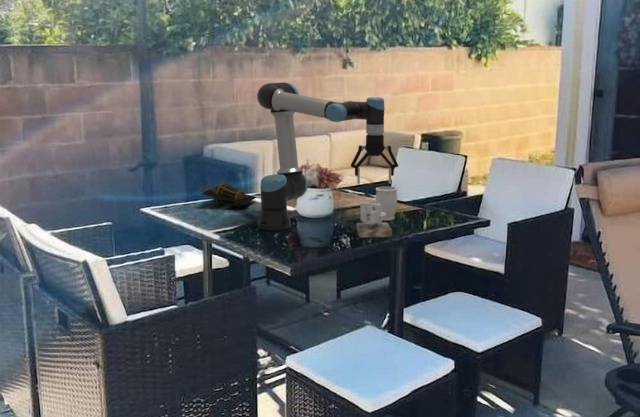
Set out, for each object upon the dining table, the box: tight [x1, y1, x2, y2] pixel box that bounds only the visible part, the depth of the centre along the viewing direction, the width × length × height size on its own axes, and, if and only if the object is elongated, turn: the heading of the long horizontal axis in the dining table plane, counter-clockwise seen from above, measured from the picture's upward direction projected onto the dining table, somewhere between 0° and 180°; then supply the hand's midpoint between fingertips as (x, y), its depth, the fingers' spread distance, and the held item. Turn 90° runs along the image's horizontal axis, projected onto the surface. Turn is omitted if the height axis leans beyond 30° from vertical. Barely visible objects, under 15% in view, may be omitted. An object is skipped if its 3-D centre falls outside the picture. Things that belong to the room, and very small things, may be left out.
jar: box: [374, 186, 398, 222], centre depth 320 cm, size 11×10×15 cm
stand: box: [356, 221, 393, 238], centre depth 295 cm, size 14×14×3 cm
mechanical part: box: [359, 199, 386, 227], centre depth 293 cm, size 11×12×12 cm
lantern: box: [199, 180, 258, 208], centre depth 354 cm, size 14×23×30 cm
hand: (374, 183), depth 291 cm, fingers open, 13 cm apart
